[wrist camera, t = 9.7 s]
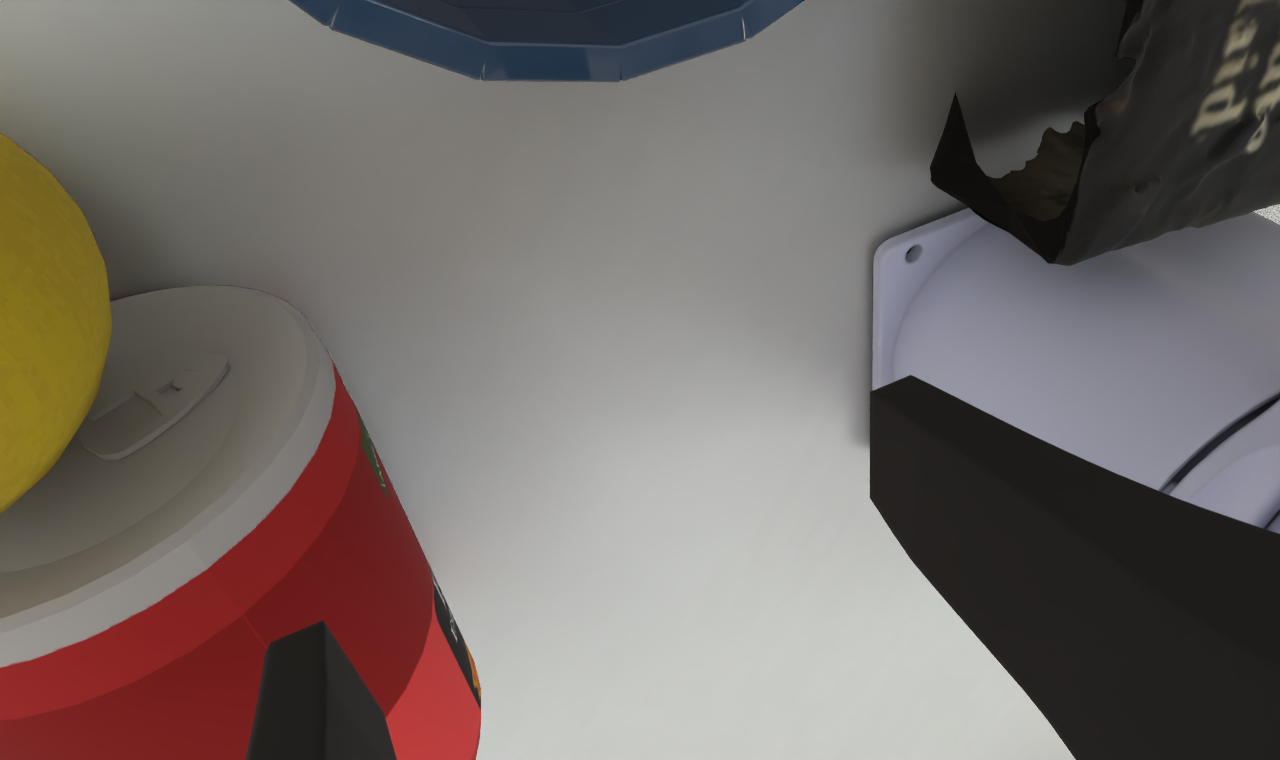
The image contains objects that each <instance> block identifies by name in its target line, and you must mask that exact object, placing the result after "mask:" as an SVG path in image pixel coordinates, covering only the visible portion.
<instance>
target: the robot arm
mask: <svg viewBox="0 0 1280 760" xmlns="http://www.w3.org/2000/svg"><path fill="white" fill-rule="evenodd" d="M911 247H913V248H912V250H911V251H910V252H909V253H908V254H907V252H908V250H909V249H910V248H911ZM870 499H871V500H872V502H873V503H874V505H875V506H876V508H877V509H878V511H879V512H880V514H881V516H882V517H883V519H884V520H885V522H886V523H887V525H888V526H889V528H890V529H891V531H892V533H893V534H894V535H895V537H896V538H897V540H898V541H899V543H900V544H901V546H902V547H903V549H904V550H905V551H906V553H907V554H908V556H909V557H910V559H911V560H912V561H913V563H914V564H915V565H916V566H917V567H918V569H919V570H920V571H921V572H922V573H923V575H924V576H925V577H926V578H927V579H928V580H929V582H930V583H931V584H932V585H933V586H934V587H935V589H936V590H937V591H938V592H939V593H940V594H941V596H942V597H943V598H944V599H945V600H946V601H947V603H948V604H949V605H950V606H951V607H952V608H953V610H954V611H955V612H956V613H957V614H958V615H959V616H960V618H961V619H962V620H963V621H964V622H965V623H966V624H967V626H968V627H969V628H970V629H971V630H972V631H973V632H974V634H975V635H976V636H977V637H978V638H979V639H980V641H981V642H982V643H983V644H984V645H985V646H986V647H987V649H988V650H989V651H990V652H991V653H992V654H993V655H994V657H995V658H996V659H997V660H998V661H999V662H1000V663H1001V665H1002V666H1003V667H1004V668H1005V669H1006V670H1007V672H1008V673H1009V674H1010V675H1011V676H1012V677H1013V678H1014V680H1015V681H1016V682H1017V683H1018V684H1019V685H1020V686H1021V688H1022V689H1023V690H1024V691H1025V692H1026V694H1027V695H1028V696H1029V697H1030V699H1031V700H1032V701H1033V702H1034V704H1035V705H1036V706H1037V707H1038V709H1039V710H1040V711H1041V712H1042V714H1043V715H1044V716H1045V717H1046V719H1047V720H1048V721H1049V723H1050V724H1051V725H1052V727H1053V728H1054V729H1055V731H1056V732H1057V734H1058V735H1059V737H1060V738H1061V739H1062V741H1063V742H1064V744H1065V745H1066V746H1067V748H1068V749H1069V751H1070V752H1071V753H1072V755H1073V756H1074V758H1075V759H1076V760H1280V225H1279V224H1277V223H1275V222H1273V221H1271V220H1269V219H1267V218H1265V217H1263V216H1261V215H1259V214H1257V213H1255V212H1253V211H1252V212H1250V213H1249V214H1247V215H1243V216H1239V217H1236V218H1232V219H1228V220H1224V221H1221V222H1218V223H1215V224H1213V225H1210V226H1206V227H1202V228H1195V227H1187V228H1184V229H1182V230H1177V231H1172V232H1169V233H1166V234H1163V235H1161V236H1160V237H1158V238H1155V239H1153V240H1150V241H1147V242H1142V243H1139V244H1136V245H1133V246H1129V247H1125V248H1122V249H1119V250H1114V251H1109V252H1106V253H1104V254H1101V255H1099V256H1096V257H1093V258H1090V259H1087V260H1084V261H1082V262H1079V263H1077V264H1074V265H1071V266H1065V265H1059V264H1048V263H1047V262H1046V261H1045V260H1044V259H1043V258H1042V257H1041V256H1039V255H1038V254H1037V253H1035V252H1034V251H1033V250H1031V249H1030V248H1029V247H1027V246H1026V245H1025V244H1023V243H1022V242H1021V241H1019V240H1018V239H1017V238H1015V237H1014V236H1013V235H1011V234H1010V233H1009V232H1007V231H1005V230H1003V229H1000V228H998V227H996V226H995V225H993V224H991V223H989V222H987V221H985V220H984V219H982V218H981V217H980V216H978V215H977V214H975V213H974V212H973V211H972V210H971V209H970V208H966V209H964V210H961V211H959V212H956V213H954V214H951V215H948V216H946V217H943V218H941V219H938V220H935V221H933V222H930V223H928V224H925V225H922V226H920V227H917V228H915V229H912V230H910V231H907V232H904V233H902V234H899V235H897V236H894V237H891V238H889V239H888V240H886V241H884V242H883V243H882V244H881V245H880V246H879V247H878V249H877V251H876V253H875V256H874V262H873V370H872V391H871V392H870ZM245 760H397V758H396V754H395V751H394V747H393V744H392V740H391V737H390V733H389V729H388V726H387V722H386V719H385V715H384V712H383V711H382V709H381V708H380V706H379V705H378V703H377V702H376V700H375V699H374V697H373V695H372V694H371V692H370V691H369V689H368V688H367V686H366V685H365V683H364V682H363V680H362V679H361V677H360V676H359V674H358V673H357V671H356V670H355V668H354V666H353V665H352V663H351V662H350V660H349V659H348V657H347V656H346V654H345V653H344V651H343V650H342V648H341V647H340V645H339V644H338V642H337V640H336V639H335V637H334V636H333V634H332V633H331V631H330V630H329V628H328V627H327V625H326V624H325V622H324V621H320V622H318V623H316V624H313V625H311V626H308V627H306V628H304V629H301V630H299V631H296V632H294V633H292V634H289V635H287V636H284V637H282V638H280V639H277V640H275V641H272V642H271V643H270V644H269V646H268V648H267V650H266V651H265V656H264V663H263V669H262V676H261V682H260V687H259V693H258V699H257V704H256V710H255V715H254V720H253V725H252V730H251V735H250V740H249V745H248V749H247V754H246V759H245Z"/></svg>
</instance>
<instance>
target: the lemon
mask: <svg viewBox="0 0 1280 760" xmlns="http://www.w3.org/2000/svg"><path fill="white" fill-rule="evenodd" d="M111 333H112V315H111V305H110V296H109V287H108V278H107V271H106V266H105V263H104V260H103V257H102V255H101V252H100V250H99V248H98V245H97V243H96V241H95V238H94V236H93V234H92V231H91V229H90V227H89V225H88V222H87V220H86V218H85V215H84V214H83V212H82V211H81V209H80V208H79V206H78V205H77V204H76V203H75V201H74V200H73V199H72V198H71V196H70V195H69V194H68V193H67V191H66V190H65V189H64V188H63V186H62V185H61V184H60V183H59V181H58V180H57V179H56V178H55V176H54V175H53V174H52V173H51V171H49V170H48V169H47V168H46V167H44V166H43V165H42V164H41V163H39V162H38V161H37V160H36V159H34V158H33V157H32V156H31V155H29V154H28V153H27V152H26V151H24V150H23V149H22V148H21V147H19V146H18V145H17V144H16V143H15V142H13V141H12V140H11V139H9V138H8V137H7V136H5V135H3V134H1V133H0V514H1V513H3V512H4V511H6V510H7V509H8V508H9V507H10V506H11V505H12V504H13V503H15V502H16V501H17V500H18V499H19V498H20V497H21V496H22V495H24V494H25V493H26V492H27V491H28V490H29V489H30V488H31V487H33V486H34V485H35V484H36V483H37V482H38V481H39V480H40V479H42V478H43V477H44V476H45V475H46V474H47V473H48V472H49V471H50V470H51V468H52V467H53V466H54V465H55V463H56V462H57V461H58V460H59V458H60V457H61V455H62V453H63V452H64V450H65V449H66V447H67V446H68V444H69V442H70V441H71V439H72V438H73V436H74V434H75V433H76V431H77V430H78V428H79V427H80V425H81V423H82V422H83V420H84V419H85V417H86V415H87V414H88V412H89V410H90V408H91V406H92V404H93V402H94V400H95V398H96V395H97V392H98V389H99V386H100V383H101V379H102V374H103V370H104V366H105V361H106V357H107V352H108V348H109V344H110V338H111Z"/></svg>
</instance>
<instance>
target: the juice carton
mask: <svg viewBox="0 0 1280 760" xmlns="http://www.w3.org/2000/svg"><path fill="white" fill-rule="evenodd" d="M1123 57H1131V58H1133V59H1135V60H1136V65H1135V67H1134V69H1133V70H1132V72H1131V73H1130V74H1129V76H1128V77H1127V78H1126V79H1125V81H1124V82H1123V83H1122V84H1121V85H1120V86H1119V87H1118V88H1117V89H1116V90H1115V91H1114V92H1113V93H1112V94H1110V95H1109V96H1108V97H1106V98H1104V99H1103V100H1101V101H1099V102H1097V103H1096V104H1094V105H1092V106H1090V107H1089V108H1088V109H1087V110H1086V111H1085V112H1084V124H1085V125H1084V124H1081V123H1080V122H1078V121H1075V122H1073V123H1072V126H1071V129H1070V131H1068V132H1067V133H1059V132H1057V131H1055V130H1054V129H1053V128H1051V127H1050V128H1048V129H1046V130H1045V131H1044V134H1043V136H1042V142H1041V144H1040V146H1039V148H1038V150H1037V153H1038V155H1037V156H1036V157H1035V158H1034V159H1033V160H1029V161H1026V166H1025V168H1024V169H1023V170H1020V171H1010V173H1008V174H1006V175H1005V176H1003V177H1002V178H997V179H996V178H991V177H989V176H986V175H985V174H984V172H983V171H982V170H981V168H980V167H979V166H978V165H977V163H976V161H975V157H974V154H973V150H972V147H971V143H970V140H969V136H968V133H967V129H966V126H965V122H964V119H963V115H962V112H961V108H960V105H959V102H958V99H957V96H956V92H955V95H954V98H953V102H952V105H951V109H950V113H949V116H948V120H947V123H946V126H945V129H944V131H943V134H942V137H941V139H940V142H939V145H938V147H937V150H936V153H935V155H934V158H933V161H932V163H931V166H930V171H931V181H932V183H933V184H934V185H935V186H936V187H937V188H939V189H941V190H943V191H944V192H946V193H948V194H949V195H951V196H953V197H954V198H956V199H957V200H959V201H961V202H962V203H964V204H965V205H967V206H968V207H969V208H970V209H971V210H972V211H973V212H974V213H975V214H977V215H978V216H980V217H981V218H982V219H984V220H985V221H987V222H989V223H991V224H993V225H995V226H996V227H998V228H1000V229H1003V230H1005V231H1007V232H1009V233H1010V234H1011V235H1013V236H1014V237H1015V238H1017V239H1018V240H1019V241H1021V242H1022V243H1023V244H1025V245H1026V246H1027V247H1029V248H1030V249H1031V250H1033V251H1034V252H1035V253H1037V254H1038V255H1039V256H1041V257H1042V258H1043V259H1044V260H1045V261H1046V262H1047V263H1048V264H1059V265H1065V266H1071V265H1074V264H1077V263H1079V262H1082V261H1084V260H1087V259H1090V258H1093V257H1096V256H1099V255H1101V254H1104V253H1106V252H1109V251H1114V250H1119V249H1122V248H1125V247H1129V246H1133V245H1136V244H1139V243H1142V242H1147V241H1150V240H1153V239H1155V238H1158V237H1160V236H1161V235H1163V234H1166V233H1169V232H1172V231H1177V230H1182V229H1184V228H1187V227H1195V228H1202V227H1206V226H1210V225H1213V224H1215V223H1218V222H1221V221H1224V220H1228V219H1232V218H1236V217H1239V216H1243V215H1247V214H1249V213H1250V212H1252V211H1255V210H1259V209H1263V208H1266V207H1269V206H1272V205H1277V204H1280V0H1128V2H1127V7H1126V11H1125V16H1124V20H1123V24H1122V29H1121V33H1120V38H1119V42H1118V47H1117V52H1116V57H1115V58H1116V59H1117V60H1120V59H1121V58H1123Z"/></svg>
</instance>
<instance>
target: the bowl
mask: <svg viewBox="0 0 1280 760" xmlns="http://www.w3.org/2000/svg"><path fill="white" fill-rule="evenodd" d="M289 1H290V2H292V3H293V4H294V5H296V6H297V7H299V8H300V9H301V10H303V11H304V12H306V13H307V14H308V15H310V16H311V17H312V18H314V19H315V20H317V21H318V22H319V23H321V24H322V25H325V26H329V28H330V29H331V30H333V31H336V32H339V33H342V34H345V35H348V36H351V37H354V38H357V39H359V40H362V41H365V42H368V43H371V44H374V45H377V46H380V47H383V48H386V49H388V50H391V51H394V52H397V53H400V54H403V55H406V56H409V57H412V58H415V59H418V60H420V61H423V62H426V63H429V64H432V65H435V66H438V67H441V68H444V69H447V70H449V71H452V72H455V73H458V74H461V75H464V76H467V77H470V78H473V79H476V80H480V79H481V80H483V81H522V82H620V80H621V81H625V80H628V79H631V78H634V77H638V76H641V75H644V74H647V73H650V72H653V71H656V70H659V69H662V68H665V67H668V66H671V65H674V64H677V63H680V62H683V61H686V60H690V59H693V58H696V57H699V56H702V55H705V54H708V53H711V52H714V51H717V50H720V49H723V48H726V47H729V46H732V45H735V44H739V43H742V42H744V41H745V40H746V39H750V38H752V37H753V36H755V35H756V34H757V33H759V32H760V31H762V30H763V29H765V28H766V27H767V26H769V25H770V24H772V23H773V22H775V21H776V20H777V19H779V18H780V17H782V16H783V15H784V14H786V13H787V12H789V11H790V10H792V9H793V8H794V7H796V6H797V5H799V4H800V3H801V2H803V1H804V0H289Z"/></svg>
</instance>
